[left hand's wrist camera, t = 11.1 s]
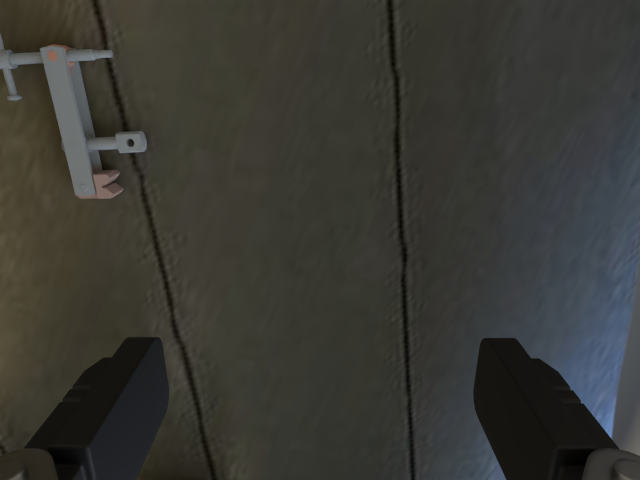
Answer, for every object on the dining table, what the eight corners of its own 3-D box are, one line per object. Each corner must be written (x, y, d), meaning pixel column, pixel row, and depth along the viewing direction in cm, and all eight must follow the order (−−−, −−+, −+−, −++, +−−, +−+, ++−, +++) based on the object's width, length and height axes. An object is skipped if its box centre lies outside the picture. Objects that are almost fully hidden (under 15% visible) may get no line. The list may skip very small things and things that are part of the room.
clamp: (148, 196, 36) (25, 203, 36) (158, 190, 38) (41, 196, 39) (108, -17, 31) (-36, -9, 31) (121, -12, 33) (-13, -4, 33)
